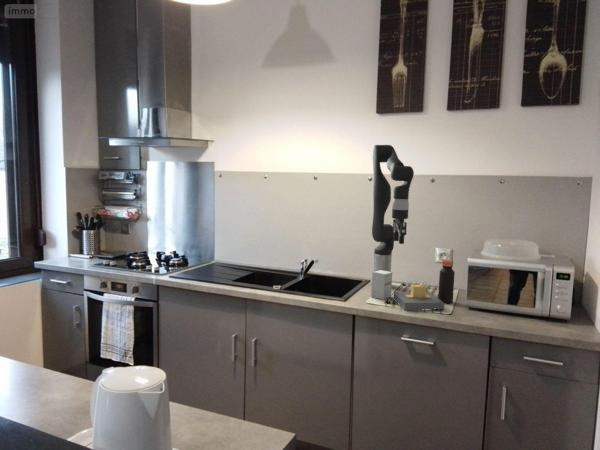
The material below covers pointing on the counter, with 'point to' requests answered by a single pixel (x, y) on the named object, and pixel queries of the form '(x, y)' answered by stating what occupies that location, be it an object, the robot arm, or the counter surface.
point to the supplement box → (381, 284)
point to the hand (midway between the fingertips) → (398, 242)
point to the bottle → (446, 282)
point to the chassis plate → (418, 301)
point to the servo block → (418, 292)
